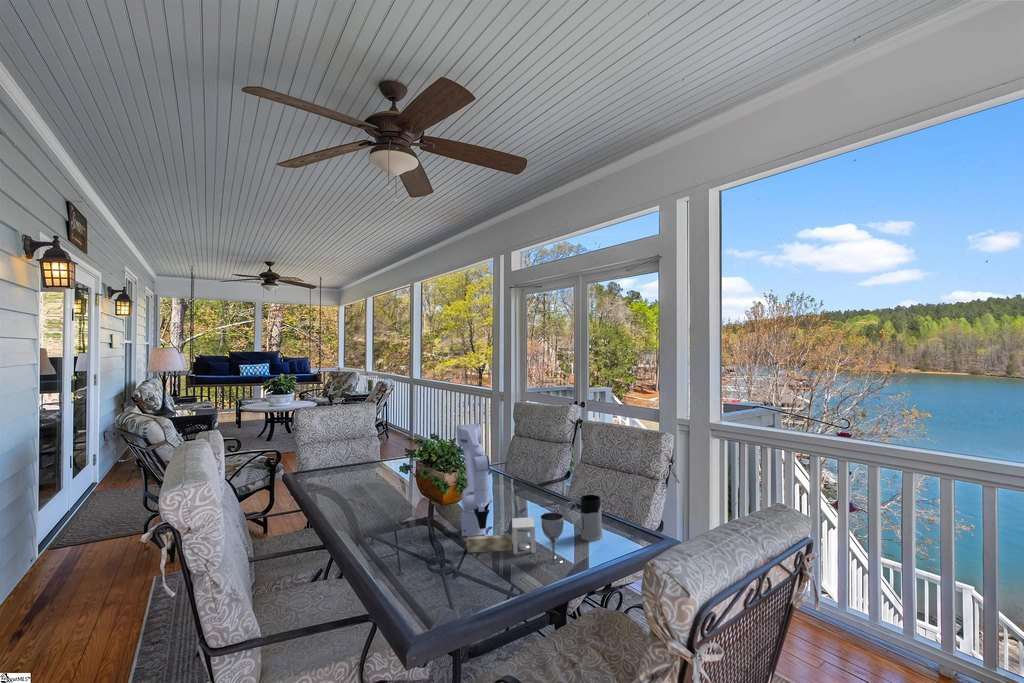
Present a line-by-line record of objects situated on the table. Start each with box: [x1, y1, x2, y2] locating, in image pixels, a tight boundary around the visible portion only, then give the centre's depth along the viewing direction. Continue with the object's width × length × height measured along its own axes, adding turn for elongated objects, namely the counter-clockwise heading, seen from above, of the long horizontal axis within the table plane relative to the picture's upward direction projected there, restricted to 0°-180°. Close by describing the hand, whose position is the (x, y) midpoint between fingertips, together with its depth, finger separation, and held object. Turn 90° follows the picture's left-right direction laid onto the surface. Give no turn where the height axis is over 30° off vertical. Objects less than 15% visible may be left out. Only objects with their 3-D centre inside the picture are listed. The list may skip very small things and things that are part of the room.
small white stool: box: [511, 517, 537, 555], centre depth 173 cm, size 8×10×10 cm
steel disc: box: [517, 542, 531, 552], centre depth 173 cm, size 4×4×1 cm
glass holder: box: [565, 494, 604, 542], centre depth 181 cm, size 9×14×15 cm, turn 90°
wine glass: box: [540, 511, 565, 565], centre depth 163 cm, size 8×8×15 cm
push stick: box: [466, 534, 513, 554], centre depth 173 cm, size 16×2×5 cm, turn 90°
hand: (482, 524), depth 175 cm, fingers open, 7 cm apart
